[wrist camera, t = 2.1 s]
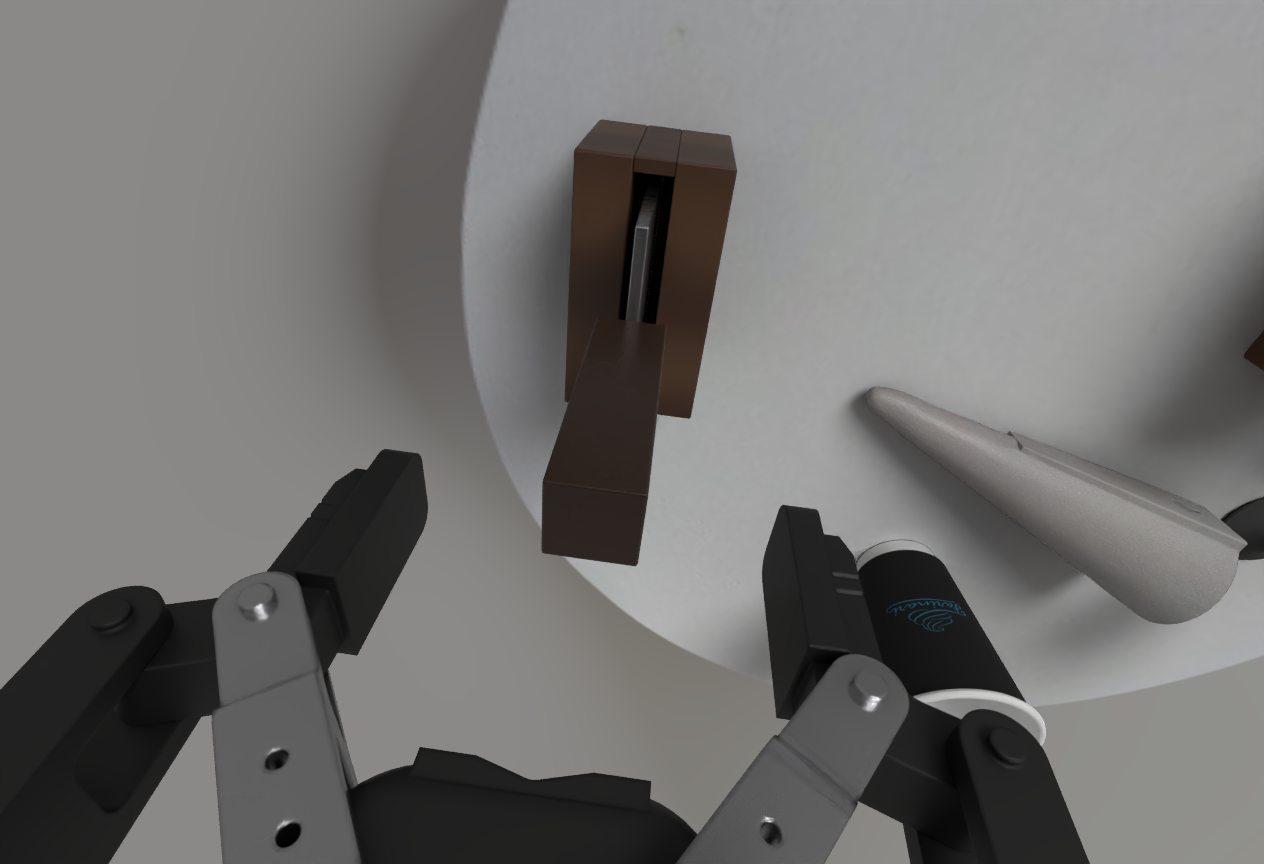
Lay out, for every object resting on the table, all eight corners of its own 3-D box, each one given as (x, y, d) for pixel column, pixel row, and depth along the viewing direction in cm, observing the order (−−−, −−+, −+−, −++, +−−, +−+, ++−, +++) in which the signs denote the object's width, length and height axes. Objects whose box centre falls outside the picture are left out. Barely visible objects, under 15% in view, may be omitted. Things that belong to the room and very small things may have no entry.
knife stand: (599, 118, 25) (573, 148, 20) (730, 135, 25) (737, 169, 20) (586, 338, 31) (564, 402, 26) (692, 352, 30) (690, 419, 26)
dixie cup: (874, 623, 41) (921, 796, 32) (803, 560, 38) (834, 731, 29) (988, 574, 37) (1078, 754, 28) (920, 500, 35) (996, 674, 26)
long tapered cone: (820, 510, 30) (1164, 648, 31) (889, 403, 27) (1269, 558, 28) (808, 455, 35) (1104, 574, 36) (865, 359, 32) (1188, 492, 33)
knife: (635, 150, 25) (543, 356, 11) (688, 156, 25) (667, 373, 11) (619, 324, 30) (540, 632, 15) (663, 330, 30) (625, 644, 15)
